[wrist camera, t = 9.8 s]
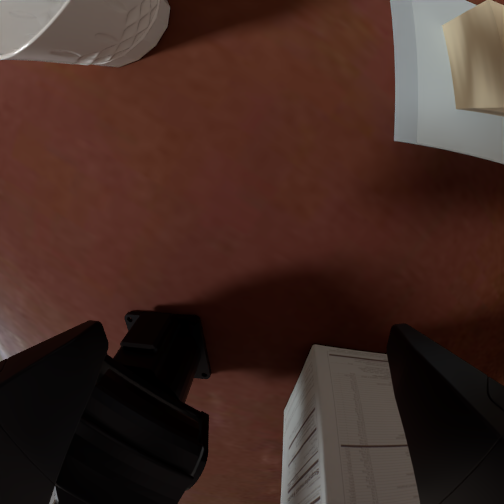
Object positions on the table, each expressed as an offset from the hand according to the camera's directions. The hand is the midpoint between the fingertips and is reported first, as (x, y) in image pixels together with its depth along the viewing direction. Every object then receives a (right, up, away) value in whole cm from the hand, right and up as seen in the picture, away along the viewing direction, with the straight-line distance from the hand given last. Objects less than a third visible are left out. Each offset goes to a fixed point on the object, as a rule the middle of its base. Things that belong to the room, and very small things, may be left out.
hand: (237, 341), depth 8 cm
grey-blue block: (+14, +14, +6) cm, 21 cm away
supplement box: (+9, -9, +16) cm, 20 cm away
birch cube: (+13, +13, +2) cm, 18 cm away
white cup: (-8, +18, +7) cm, 21 cm away
